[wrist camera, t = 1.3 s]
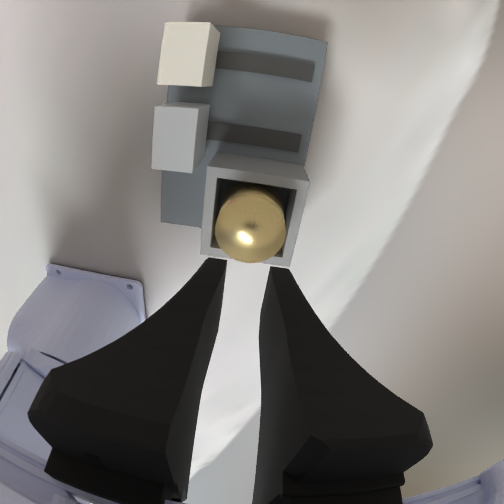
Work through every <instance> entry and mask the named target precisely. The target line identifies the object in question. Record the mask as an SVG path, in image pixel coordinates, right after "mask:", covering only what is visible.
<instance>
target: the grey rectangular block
mask: <svg viewBox="0 0 504 504" xmlns="http://www.w3.org/2000/svg"><path fill="white" fill-rule="evenodd" d="M209 110H210V104H201V103H188V102H170V103H166V104H161V105H158V106H155V110H154V124H153V141H152V163H151V169H156V170H166V171H176V172H185V173H193V172H194V170H195V169H196V168H197V167H198V165H199V164H200V163H201V161H202V160H203V159H204V156H205V146H206V137H207V128H208V119H209Z"/></svg>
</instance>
